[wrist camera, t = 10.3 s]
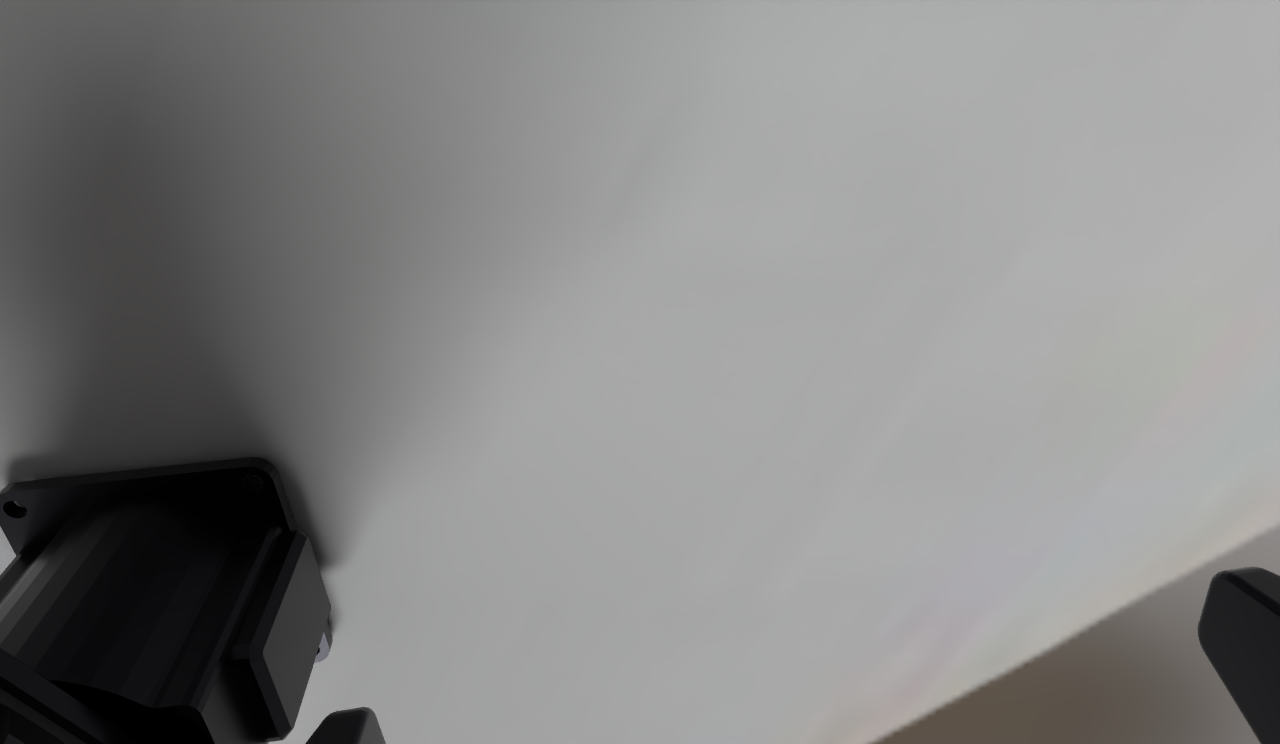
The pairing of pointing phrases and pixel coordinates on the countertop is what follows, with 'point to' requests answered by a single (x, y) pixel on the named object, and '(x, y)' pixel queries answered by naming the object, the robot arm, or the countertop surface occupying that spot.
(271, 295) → the countertop surface
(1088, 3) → the countertop surface
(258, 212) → the countertop surface
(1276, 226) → the countertop surface
